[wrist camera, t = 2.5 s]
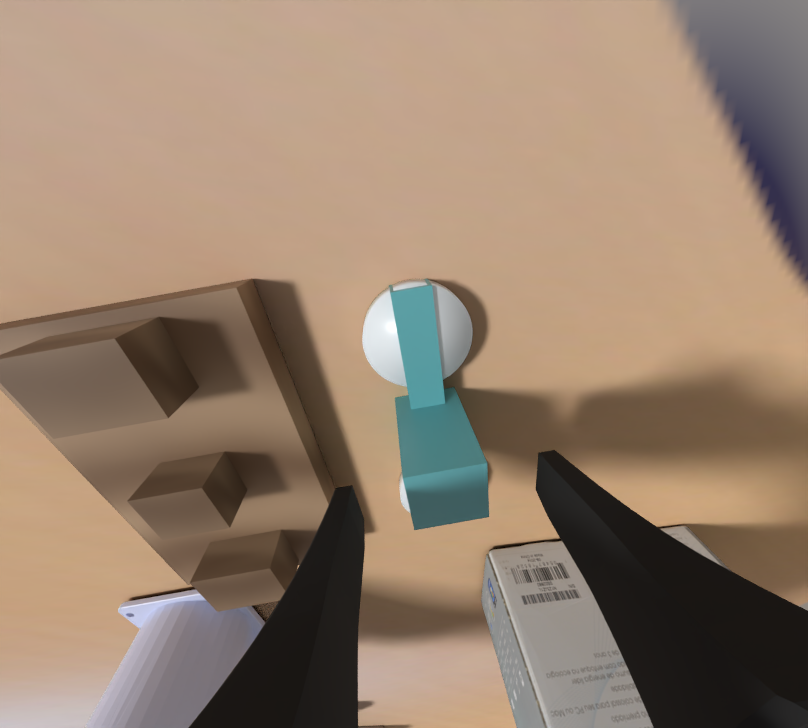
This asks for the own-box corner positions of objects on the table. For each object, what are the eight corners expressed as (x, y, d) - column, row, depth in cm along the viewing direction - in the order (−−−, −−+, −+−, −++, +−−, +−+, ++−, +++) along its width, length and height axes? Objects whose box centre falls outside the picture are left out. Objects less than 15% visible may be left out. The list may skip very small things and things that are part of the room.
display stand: (352, 532, 19) (347, 593, 16) (200, 558, 19) (167, 625, 16) (252, 278, 12) (207, 304, 8) (0, 323, 12) (-138, 365, 8)
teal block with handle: (476, 497, 19) (507, 586, 14) (405, 510, 19) (414, 602, 14) (463, 269, 12) (512, 304, 8) (352, 289, 12) (338, 335, 8)
